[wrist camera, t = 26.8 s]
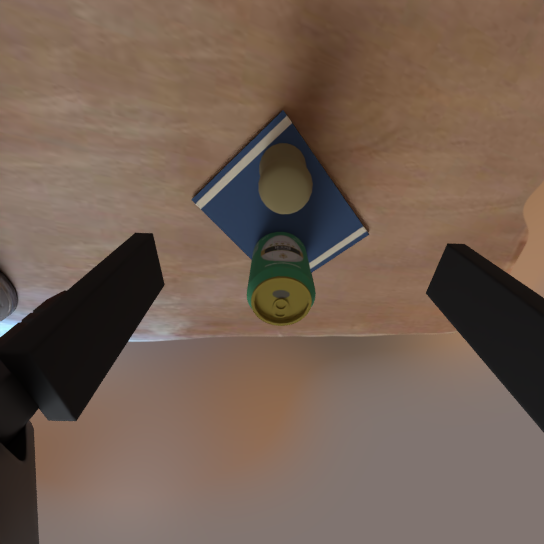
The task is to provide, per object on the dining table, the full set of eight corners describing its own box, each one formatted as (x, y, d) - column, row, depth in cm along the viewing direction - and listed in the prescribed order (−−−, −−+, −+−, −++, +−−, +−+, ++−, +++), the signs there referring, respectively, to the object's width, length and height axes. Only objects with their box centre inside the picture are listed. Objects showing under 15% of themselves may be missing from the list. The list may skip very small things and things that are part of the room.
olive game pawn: (315, 158, 32) (332, 176, 22) (291, 201, 34) (297, 233, 25) (272, 133, 30) (271, 140, 21) (251, 179, 33) (242, 205, 24)
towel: (192, 198, 35) (191, 199, 35) (283, 110, 29) (283, 109, 29) (283, 289, 43) (283, 291, 42) (368, 233, 37) (369, 234, 37)
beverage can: (309, 230, 37) (322, 275, 27) (302, 276, 41) (311, 330, 31) (253, 227, 37) (245, 271, 26) (252, 274, 41) (245, 327, 31)
